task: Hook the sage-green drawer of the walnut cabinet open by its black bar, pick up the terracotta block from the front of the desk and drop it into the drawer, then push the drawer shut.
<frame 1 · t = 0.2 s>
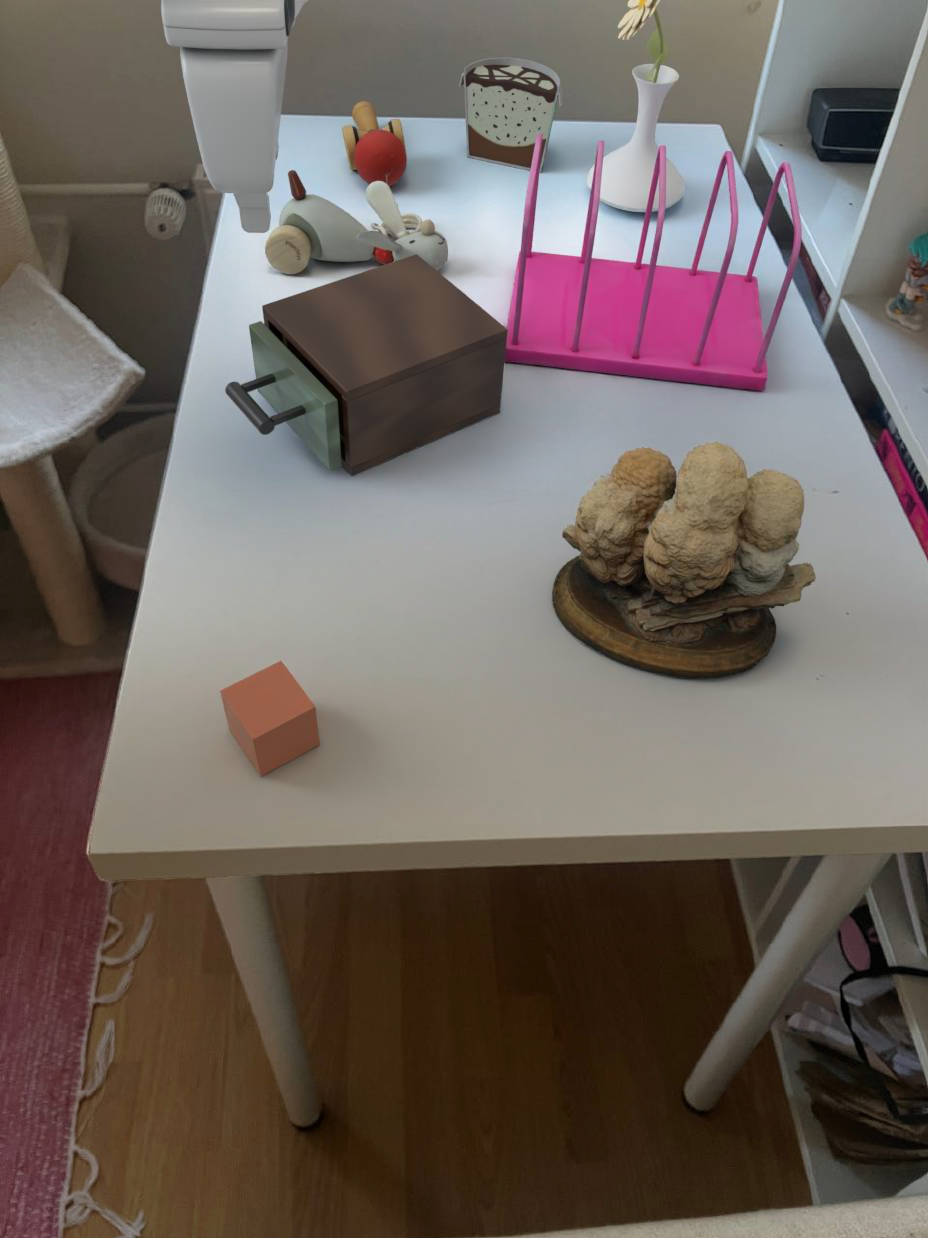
hand: (261, 190, 68), 24 cm above the table, tool pointing down, fingers open, 8 cm apart
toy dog: (354, 259, 107), on the table
food container: (511, 155, 123), on the table
cabinet: (385, 401, 91), on the table
kendama: (372, 160, 121), on the table
owl figurine: (665, 617, 77), on the table
file sorter: (633, 327, 101), on the table
block: (274, 737, 68), on the table
flower in vase: (630, 202, 117), on the table
drawer: (341, 377, 86), point 4 cm above the table, slide at 0.5 cm
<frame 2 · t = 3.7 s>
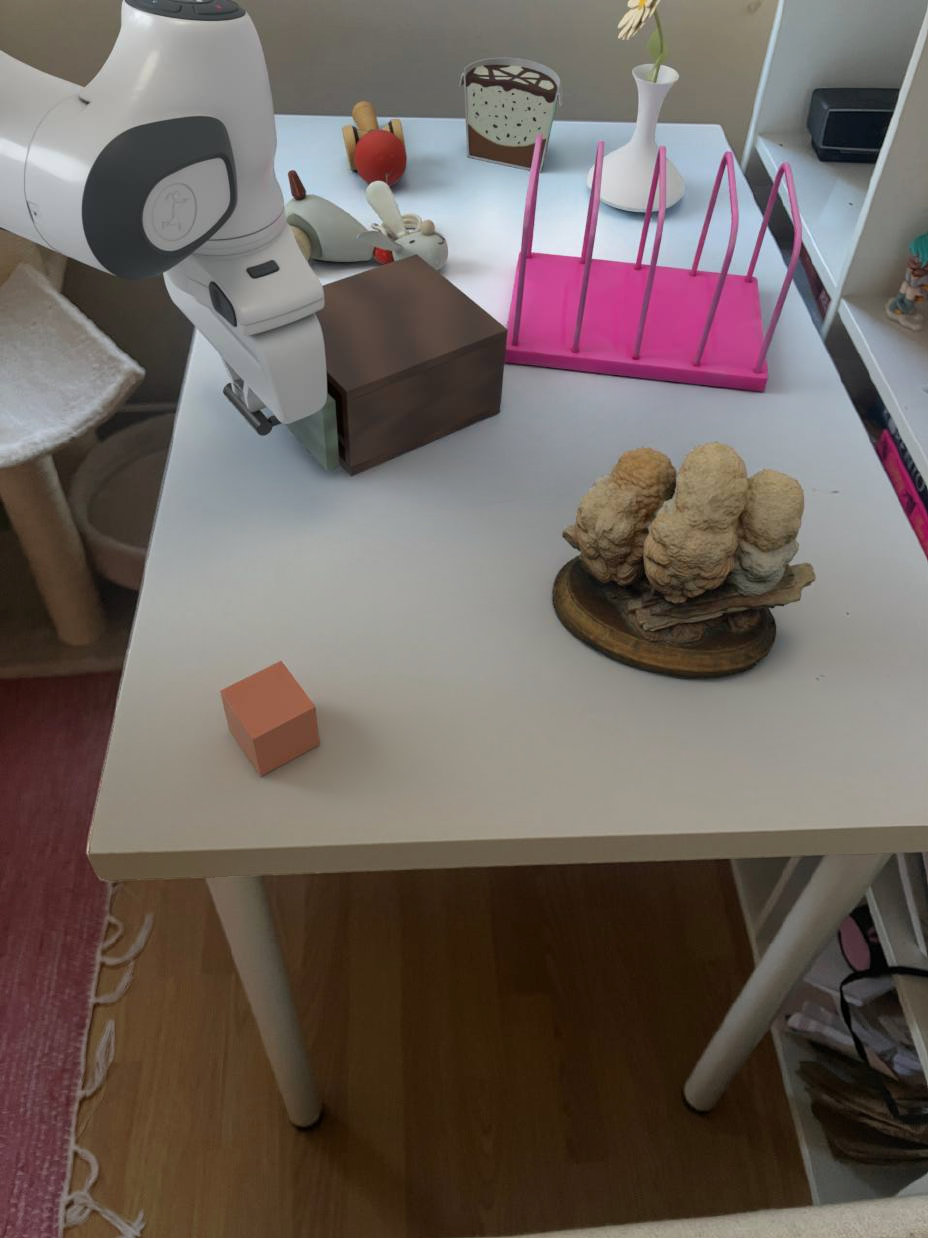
hand: (251, 400, 82), 6 cm above the table, tool pointing down, fingers closed, pressing on drawer
drawer: (339, 378, 86), point 4 cm above the table, slide at 0.7 cm, touching gripper
everything else where it was.
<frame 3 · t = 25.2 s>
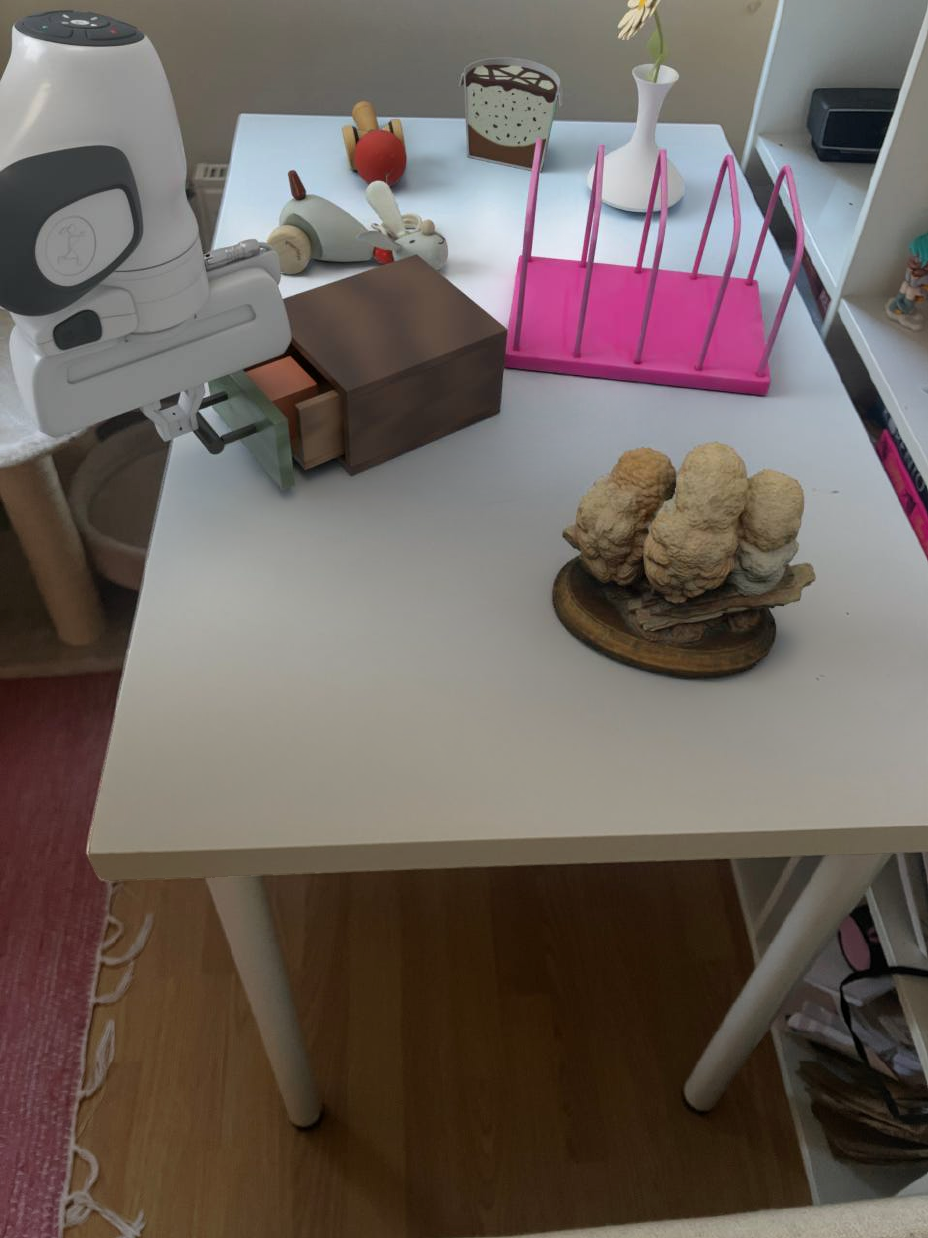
hand: (178, 431, 79), 5 cm above the table, tool pointing down, fingers closed
block: (284, 421, 86), point 2 cm above the table, touching drawer
drawer: (296, 394, 84), point 4 cm above the table, slide at 4.9 cm, touching block, gripper
everything else where it was.
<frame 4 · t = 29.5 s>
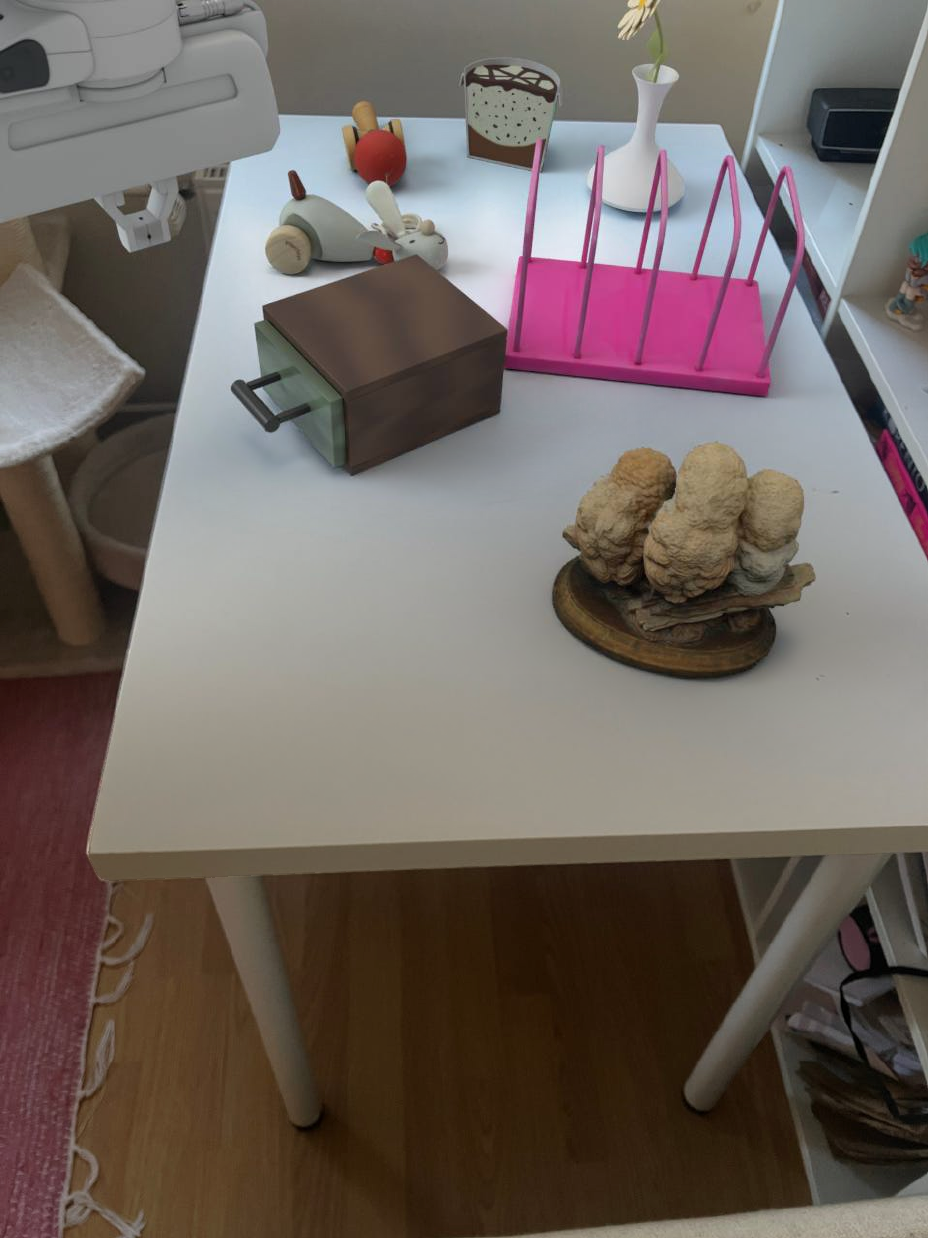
hand: (146, 243, 68), 21 cm above the table, tool pointing down, fingers closed
block: (335, 401, 88), point 2 cm above the table, touching drawer
drawer: (346, 375, 86), point 4 cm above the table, slide at 0.0 cm, touching block, cabinet
everything else where it was.
at the end: drawer pulled out 6.5 cm at the most during the clip, back to where it started at the end; block inside the target area in the cabinet (5.2 cm from its centre), point 2.1 cm above the cabinet's base; drawer slide at 0.0 cm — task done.
